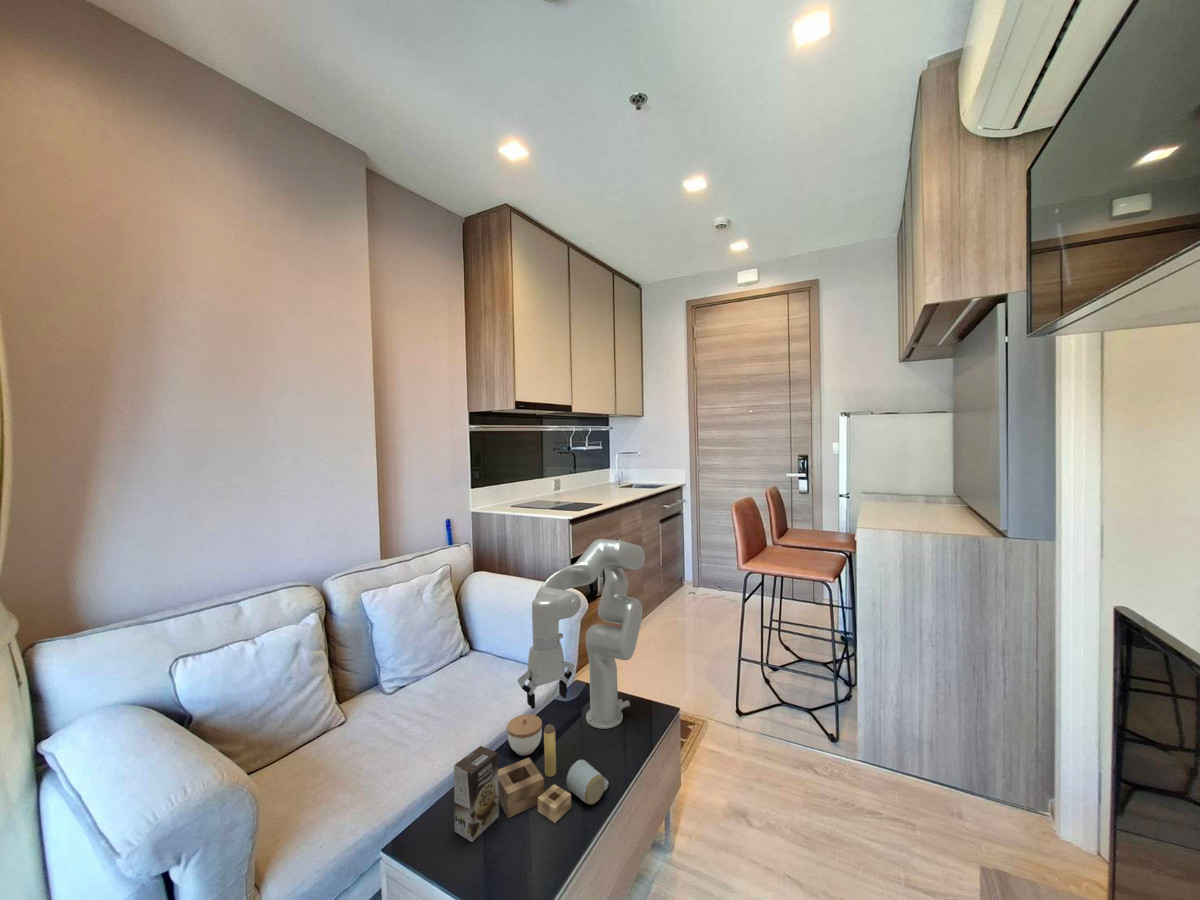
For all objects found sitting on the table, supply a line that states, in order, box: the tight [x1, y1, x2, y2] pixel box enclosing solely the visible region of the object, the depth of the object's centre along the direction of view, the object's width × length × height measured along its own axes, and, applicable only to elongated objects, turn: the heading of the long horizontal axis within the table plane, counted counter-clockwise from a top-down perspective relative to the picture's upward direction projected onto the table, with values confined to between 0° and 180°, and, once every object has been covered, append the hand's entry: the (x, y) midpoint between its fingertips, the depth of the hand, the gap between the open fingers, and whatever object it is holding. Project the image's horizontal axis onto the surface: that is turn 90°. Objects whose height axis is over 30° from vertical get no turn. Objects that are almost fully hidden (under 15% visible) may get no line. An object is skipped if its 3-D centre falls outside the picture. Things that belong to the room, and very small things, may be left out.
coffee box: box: [453, 745, 500, 843], centre depth 112 cm, size 9×6×16 cm
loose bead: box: [537, 784, 572, 824], centre depth 116 cm, size 6×6×4 cm
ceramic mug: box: [566, 759, 609, 805], centre depth 122 cm, size 11×8×8 cm
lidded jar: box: [506, 713, 543, 756], centre depth 141 cm, size 11×11×9 cm
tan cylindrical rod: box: [543, 723, 557, 777], centre depth 130 cm, size 3×3×14 cm
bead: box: [498, 757, 545, 819], centre depth 121 cm, size 10×10×6 cm
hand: (547, 701), depth 130 cm, fingers open, 9 cm apart
